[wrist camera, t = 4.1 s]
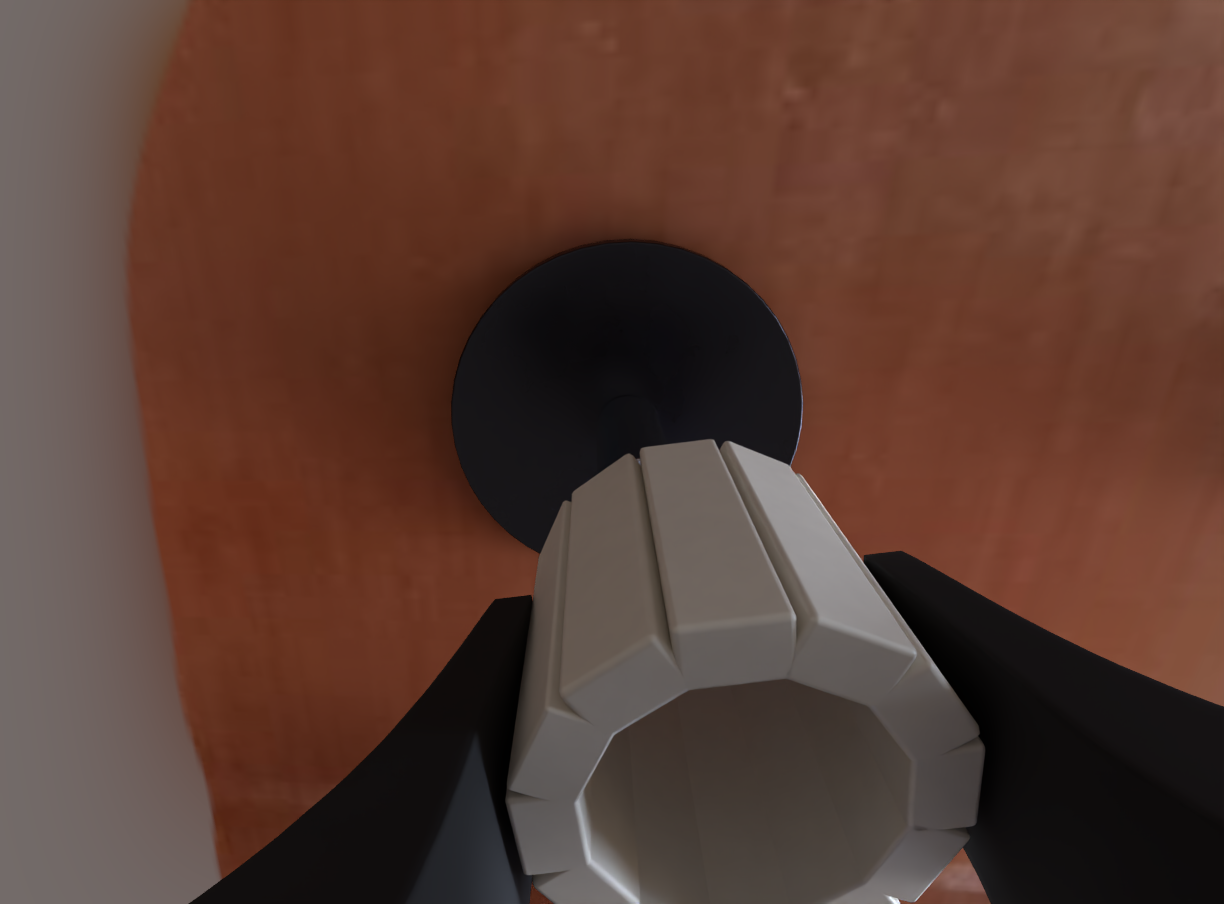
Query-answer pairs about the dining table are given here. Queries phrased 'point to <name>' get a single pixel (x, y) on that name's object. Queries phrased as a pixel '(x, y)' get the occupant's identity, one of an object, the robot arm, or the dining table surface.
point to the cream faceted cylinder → (727, 701)
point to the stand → (615, 374)
